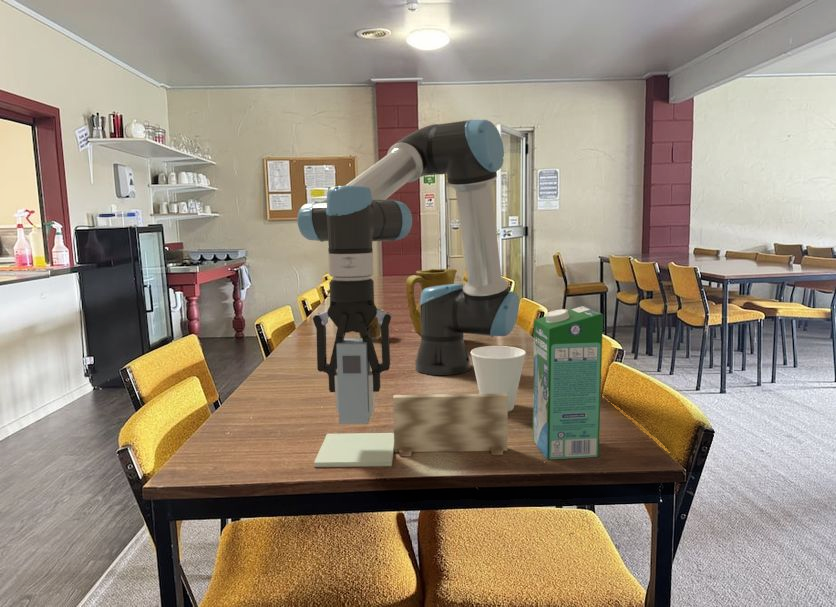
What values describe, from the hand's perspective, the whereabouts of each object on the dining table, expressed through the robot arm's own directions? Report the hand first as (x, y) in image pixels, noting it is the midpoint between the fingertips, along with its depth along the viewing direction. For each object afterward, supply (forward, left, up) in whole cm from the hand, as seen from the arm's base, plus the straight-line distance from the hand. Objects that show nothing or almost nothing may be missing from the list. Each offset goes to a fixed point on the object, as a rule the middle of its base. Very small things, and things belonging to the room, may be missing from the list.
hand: (355, 409), depth 100 cm
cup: (-4, +36, -8) cm, 37 cm away
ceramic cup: (-88, +47, -8) cm, 100 cm away
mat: (0, 0, -8) cm, 8 cm away
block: (0, 0, -2) cm, 2 cm away
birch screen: (+9, +14, -8) cm, 18 cm away
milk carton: (+20, +31, -8) cm, 38 cm away
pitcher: (-66, +62, -8) cm, 91 cm away
